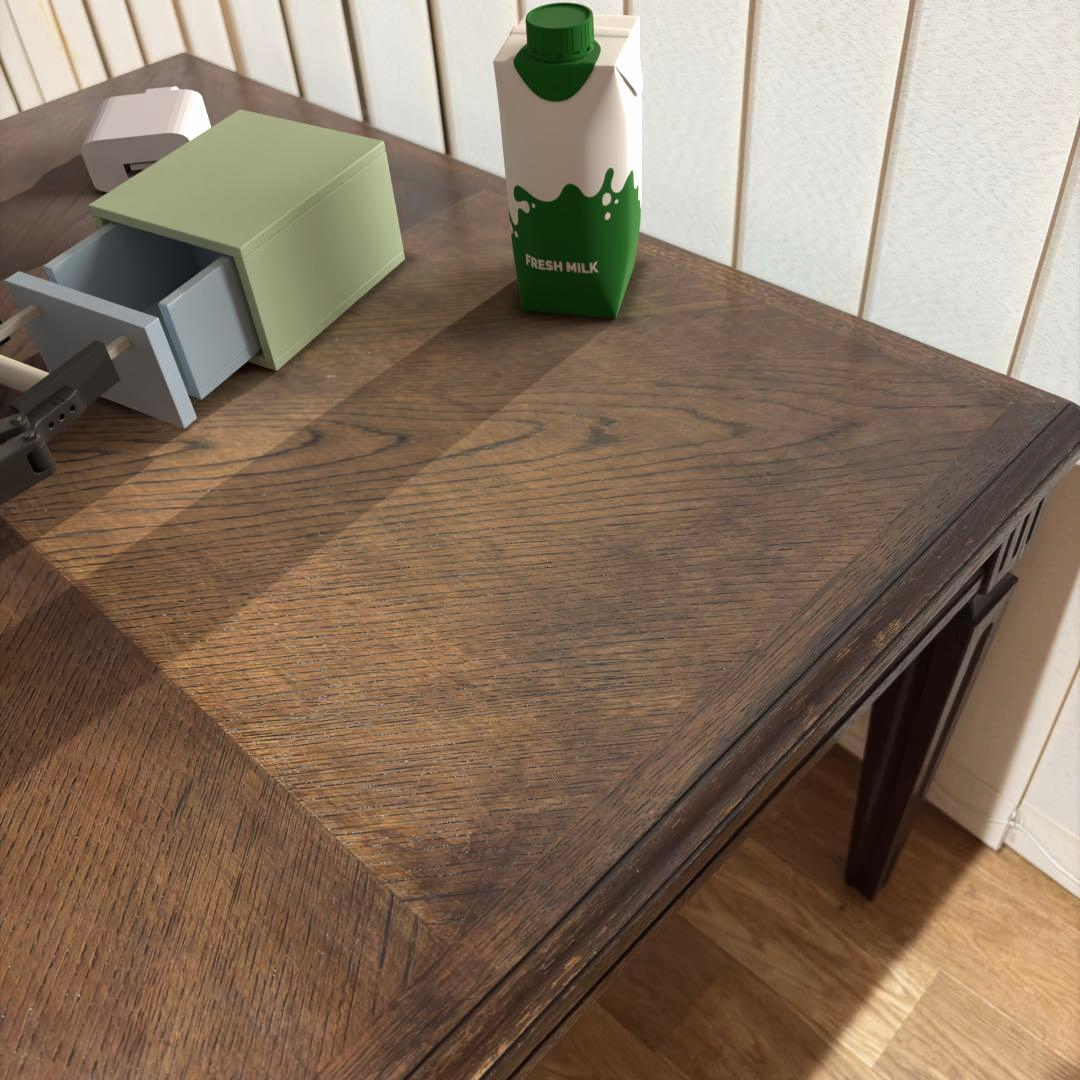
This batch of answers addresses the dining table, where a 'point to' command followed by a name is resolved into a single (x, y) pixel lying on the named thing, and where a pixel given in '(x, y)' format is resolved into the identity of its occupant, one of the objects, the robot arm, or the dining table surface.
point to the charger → (140, 132)
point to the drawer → (137, 318)
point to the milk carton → (572, 156)
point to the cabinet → (274, 218)
